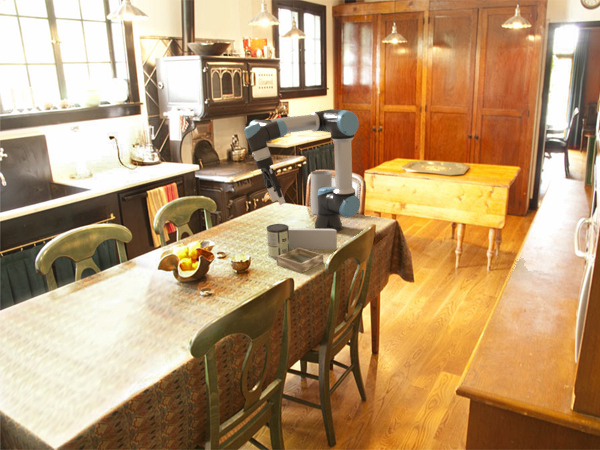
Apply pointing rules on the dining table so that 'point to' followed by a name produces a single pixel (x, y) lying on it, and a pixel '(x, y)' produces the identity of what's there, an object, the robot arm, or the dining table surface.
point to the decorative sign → (312, 238)
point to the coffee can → (277, 240)
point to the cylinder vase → (319, 186)
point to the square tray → (299, 260)
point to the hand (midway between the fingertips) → (278, 202)
